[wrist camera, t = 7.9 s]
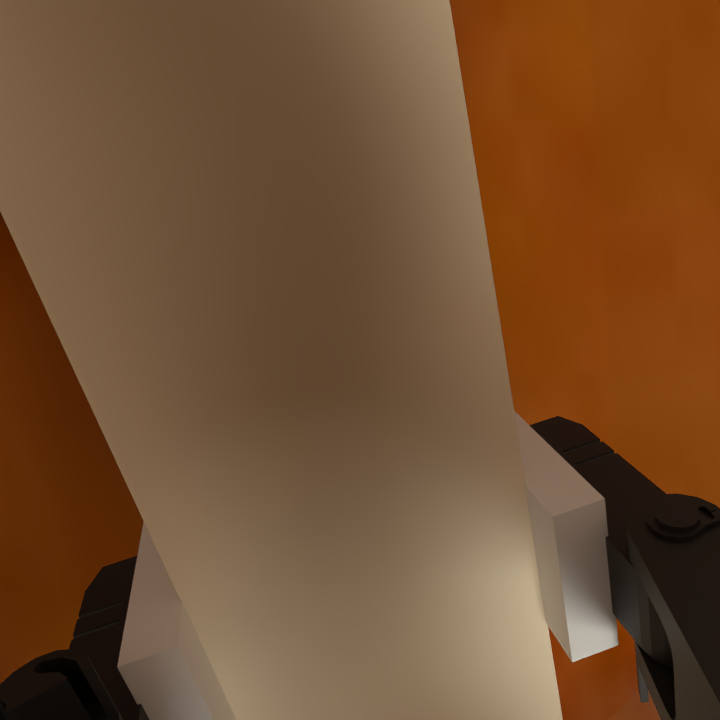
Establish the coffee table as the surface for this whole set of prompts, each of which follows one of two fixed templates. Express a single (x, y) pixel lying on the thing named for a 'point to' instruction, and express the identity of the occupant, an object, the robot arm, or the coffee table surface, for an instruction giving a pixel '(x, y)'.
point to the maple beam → (288, 338)
